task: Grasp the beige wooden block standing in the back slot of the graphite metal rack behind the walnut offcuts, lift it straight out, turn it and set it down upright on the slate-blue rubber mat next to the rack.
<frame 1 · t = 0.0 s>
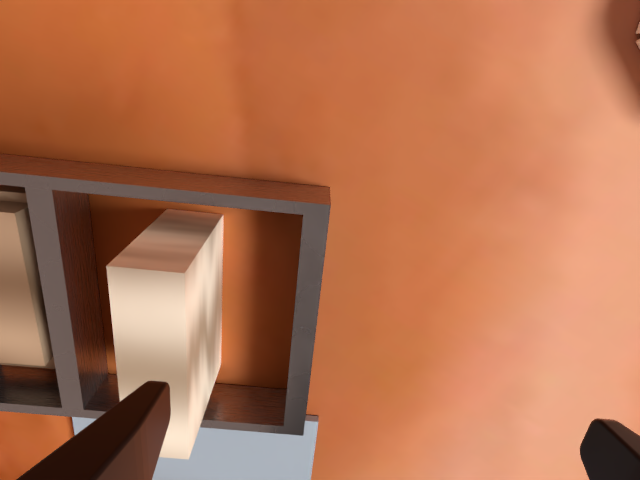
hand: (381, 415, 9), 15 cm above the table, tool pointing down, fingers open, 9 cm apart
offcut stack: (33, 274, 25), resting in rack
beige wooden block: (196, 292, 25), resting in rack
mat: (197, 444, 29), on the table
rack: (333, 305, 25), on the table
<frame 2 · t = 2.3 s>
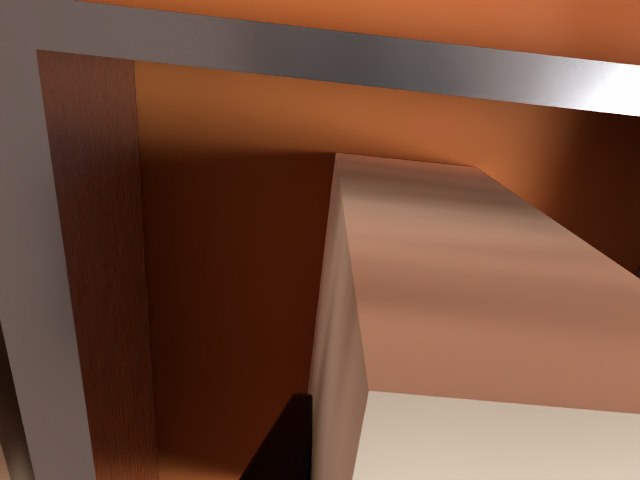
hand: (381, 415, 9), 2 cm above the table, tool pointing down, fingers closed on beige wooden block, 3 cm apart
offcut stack: (2, 314, 11), resting in rack
beige wooden block: (371, 353, 11), resting in rack, touching gripper
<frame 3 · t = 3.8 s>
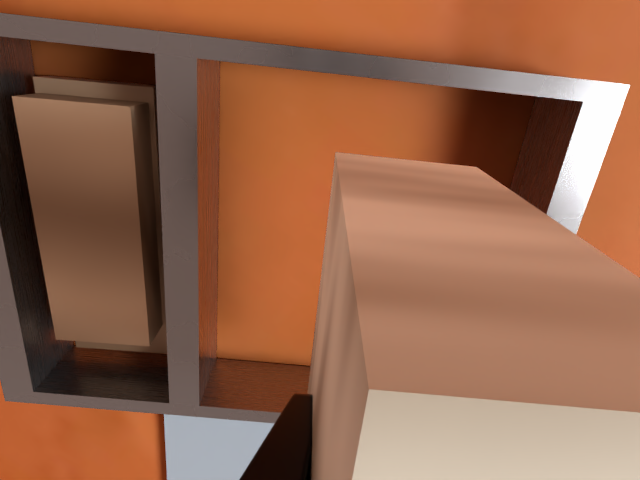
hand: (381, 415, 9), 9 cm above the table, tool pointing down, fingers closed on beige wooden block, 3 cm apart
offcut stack: (126, 220, 18), resting in rack
beige wooden block: (371, 353, 11), point 7 cm above the table, touching gripper
mat: (322, 452, 22), on the table
rack: (541, 261, 18), on the table
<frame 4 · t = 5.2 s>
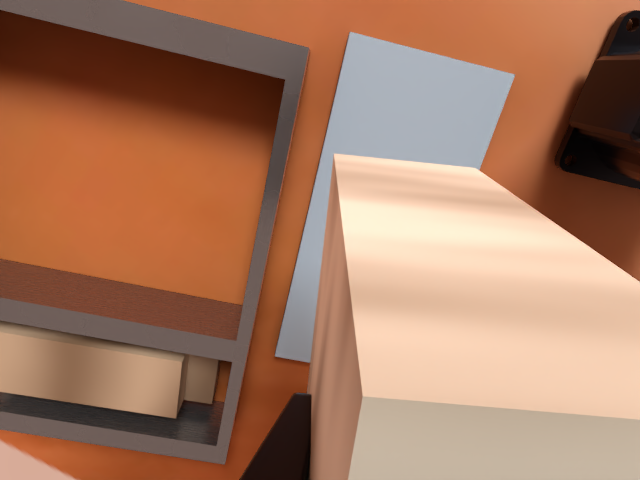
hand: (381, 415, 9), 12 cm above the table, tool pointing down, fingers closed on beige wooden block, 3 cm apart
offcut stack: (121, 340, 23), resting in rack
beige wooden block: (370, 354, 11), point 10 cm above the table, touching gripper
mat: (377, 230, 21), on the table
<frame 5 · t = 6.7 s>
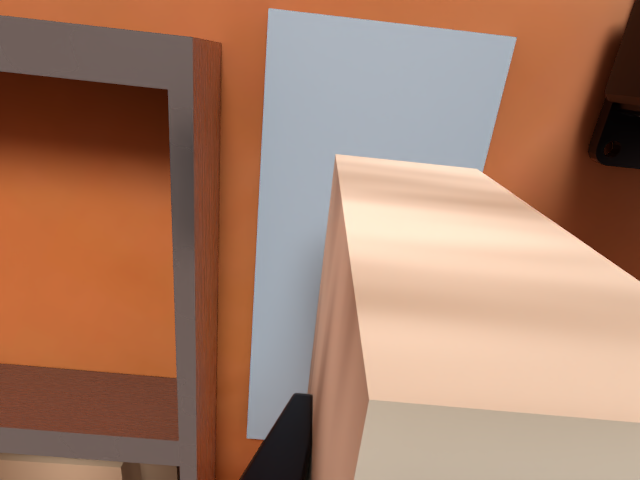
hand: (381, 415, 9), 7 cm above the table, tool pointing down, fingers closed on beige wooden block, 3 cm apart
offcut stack: (62, 431, 19), resting in rack
beige wooden block: (371, 355, 11), point 5 cm above the table, touching gripper
mat: (354, 270, 15), on the table
when the fingers open (4 cm above the table, at t = 8.1 s): beige wooden block drops 1 cm, resting on mat.
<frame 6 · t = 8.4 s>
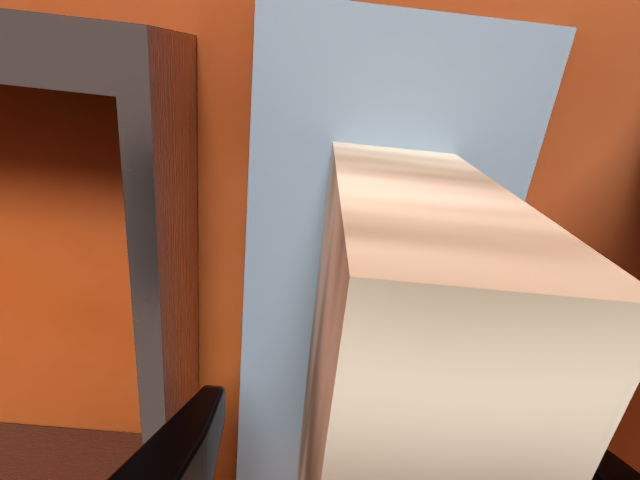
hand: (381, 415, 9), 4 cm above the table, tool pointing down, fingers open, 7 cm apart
beige wooden block: (365, 322, 12), resting on mat
mat: (363, 313, 13), on the table
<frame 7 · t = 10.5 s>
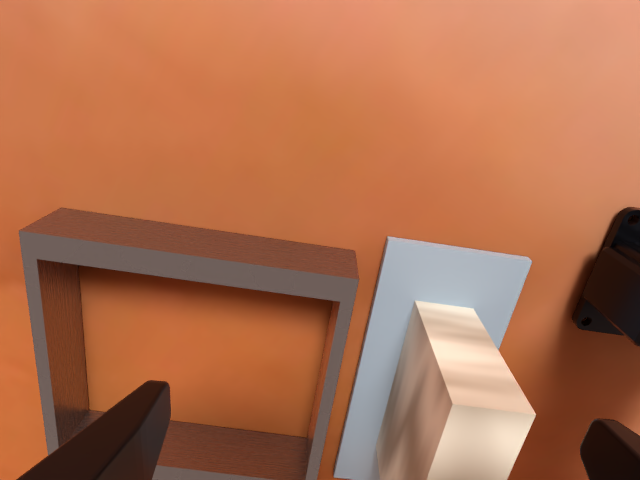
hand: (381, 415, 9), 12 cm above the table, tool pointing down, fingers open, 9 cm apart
beige wooden block: (420, 382, 23), resting on mat
mat: (418, 376, 24), on the table
rack: (211, 210, 20), on the table
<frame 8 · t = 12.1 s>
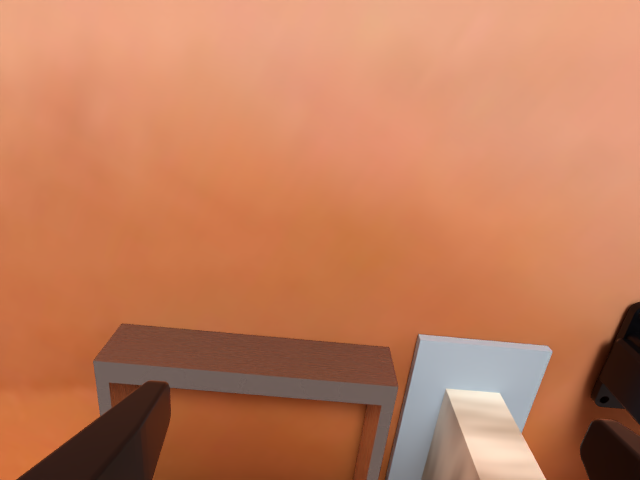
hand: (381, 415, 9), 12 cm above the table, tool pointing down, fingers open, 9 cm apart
beige wooden block: (452, 456, 25), resting on mat
mat: (450, 449, 26), on the table
rack: (257, 319, 22), on the table
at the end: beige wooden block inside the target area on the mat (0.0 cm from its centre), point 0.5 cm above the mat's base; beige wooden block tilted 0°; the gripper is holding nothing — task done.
